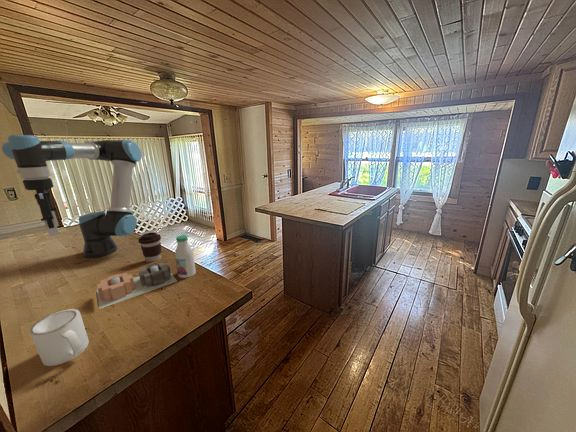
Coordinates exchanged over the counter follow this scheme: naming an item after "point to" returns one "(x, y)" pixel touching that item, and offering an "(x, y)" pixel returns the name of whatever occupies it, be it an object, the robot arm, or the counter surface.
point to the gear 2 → (155, 275)
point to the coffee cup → (151, 246)
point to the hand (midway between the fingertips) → (54, 230)
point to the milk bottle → (184, 258)
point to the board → (137, 291)
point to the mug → (60, 337)
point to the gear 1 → (116, 287)
